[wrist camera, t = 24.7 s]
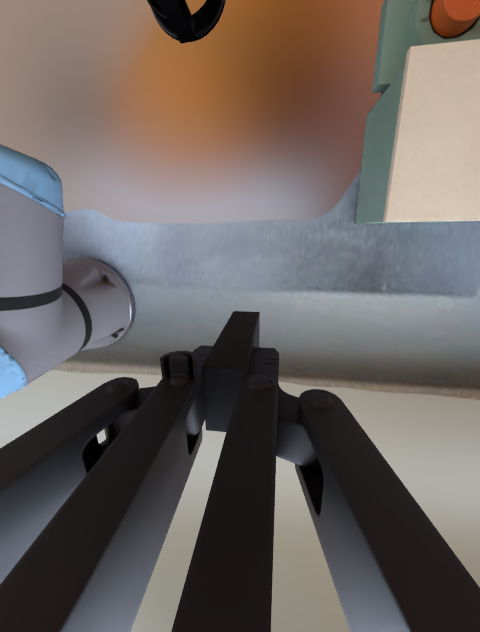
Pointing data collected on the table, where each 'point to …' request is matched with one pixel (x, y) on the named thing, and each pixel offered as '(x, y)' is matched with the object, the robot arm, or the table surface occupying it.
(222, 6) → the french press
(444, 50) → the lid
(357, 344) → the table surface
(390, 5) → the control block
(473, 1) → the button
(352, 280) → the table surface
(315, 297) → the table surface
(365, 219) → the coffee maker
